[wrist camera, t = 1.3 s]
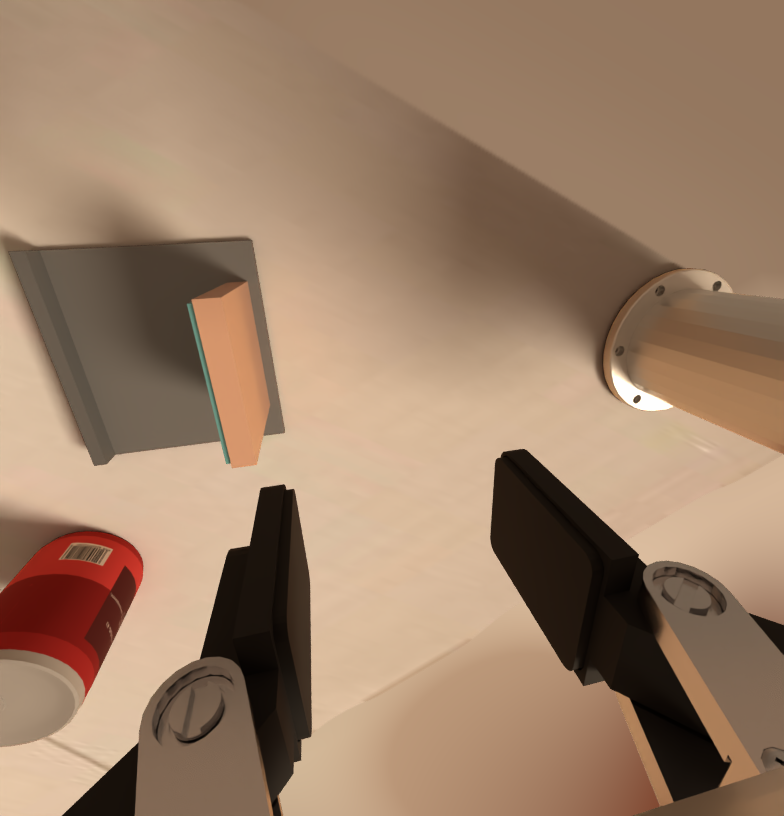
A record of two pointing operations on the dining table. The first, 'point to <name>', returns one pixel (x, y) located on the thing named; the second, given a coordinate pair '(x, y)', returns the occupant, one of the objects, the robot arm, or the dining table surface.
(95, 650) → the canned food
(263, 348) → the mat
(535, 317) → the dining table surface
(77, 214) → the dining table surface
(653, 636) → the robot arm
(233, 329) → the tile
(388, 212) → the dining table surface
